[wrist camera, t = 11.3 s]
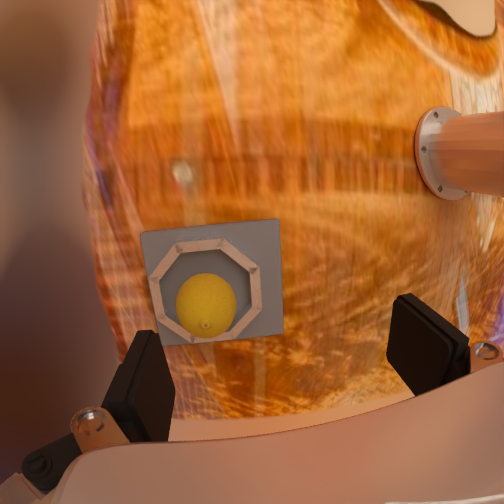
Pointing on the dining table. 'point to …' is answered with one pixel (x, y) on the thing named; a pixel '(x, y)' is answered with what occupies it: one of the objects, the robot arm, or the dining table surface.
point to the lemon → (206, 305)
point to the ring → (202, 245)
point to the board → (222, 270)
